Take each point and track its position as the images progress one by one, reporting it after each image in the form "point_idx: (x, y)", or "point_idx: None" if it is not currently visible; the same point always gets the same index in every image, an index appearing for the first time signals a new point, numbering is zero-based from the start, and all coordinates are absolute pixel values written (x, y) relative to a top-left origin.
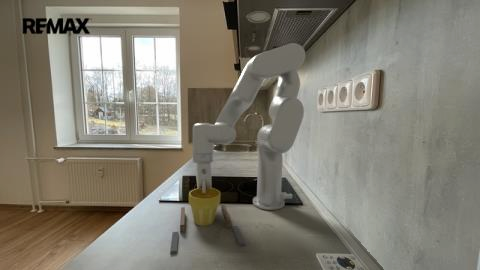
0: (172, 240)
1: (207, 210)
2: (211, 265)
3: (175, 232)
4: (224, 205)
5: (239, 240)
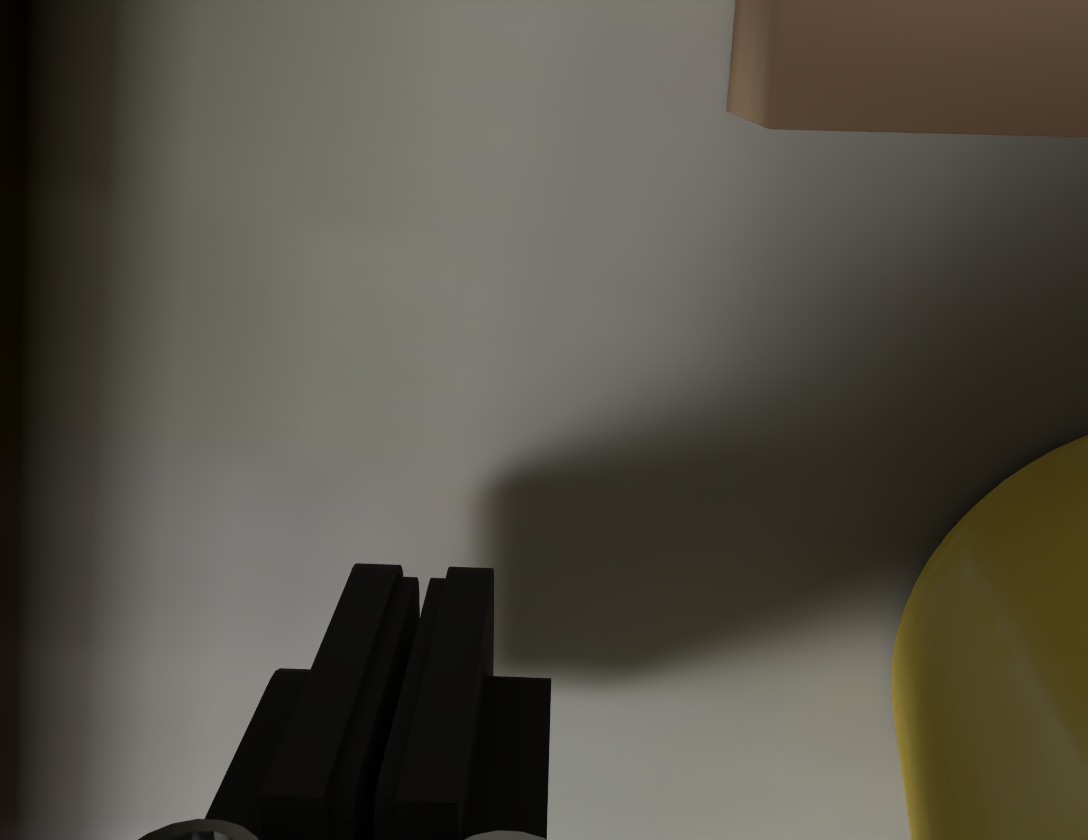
0: None
1: None
2: None
3: None
4: (915, 13)
5: None
